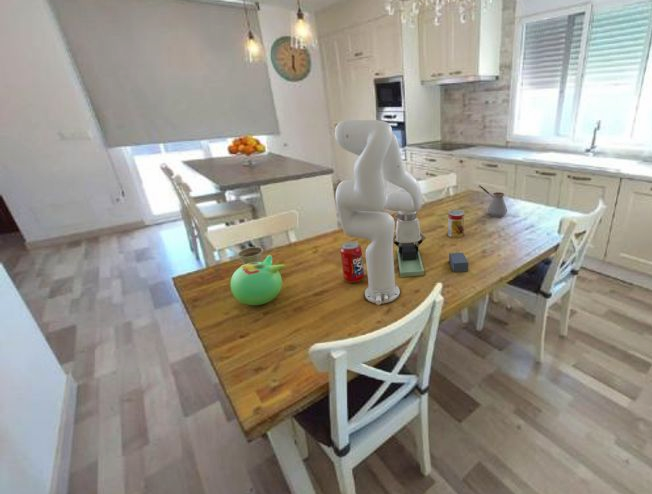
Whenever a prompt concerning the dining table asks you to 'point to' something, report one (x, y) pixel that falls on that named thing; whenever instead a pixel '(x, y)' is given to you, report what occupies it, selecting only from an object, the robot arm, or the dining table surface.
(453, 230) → the canned food
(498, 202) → the coffee pot
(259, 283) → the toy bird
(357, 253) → the soda can
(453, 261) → the pad slate
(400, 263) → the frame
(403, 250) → the pad charcoal
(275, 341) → the dining table surface
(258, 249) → the flower pot
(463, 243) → the dining table surface
